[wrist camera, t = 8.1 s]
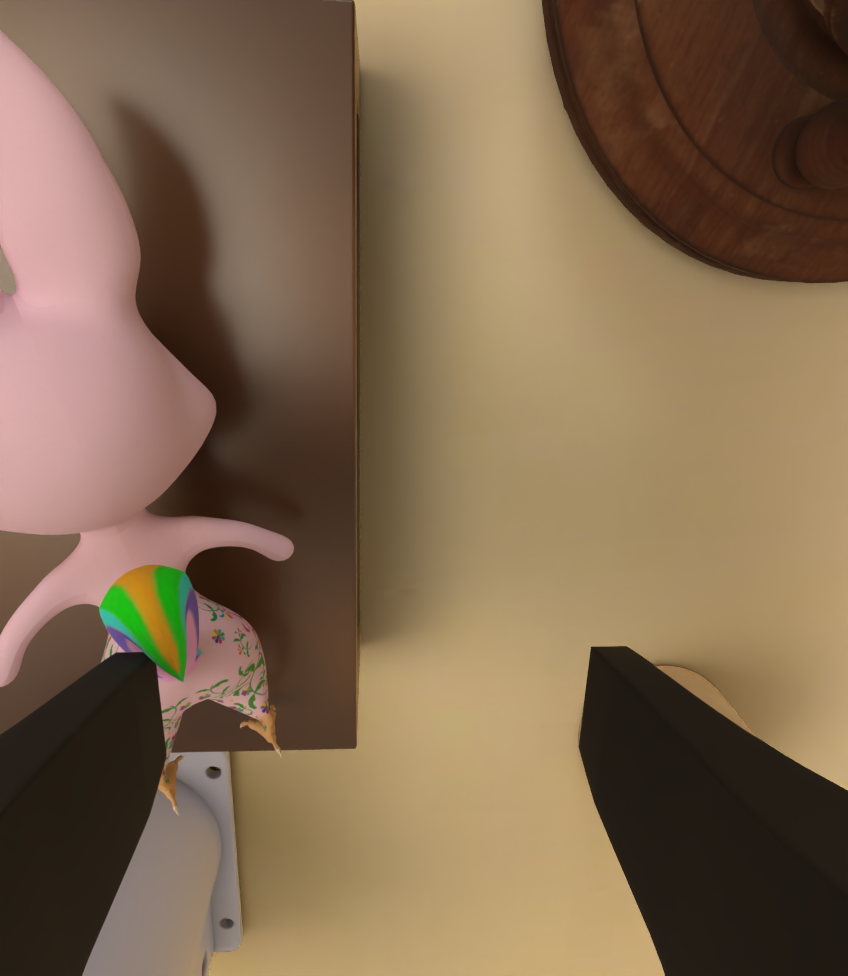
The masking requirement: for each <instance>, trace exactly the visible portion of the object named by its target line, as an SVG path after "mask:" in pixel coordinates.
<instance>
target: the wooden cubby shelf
mask: <svg viewBox="0 0 848 976" xmlns="http://www.w3.org/2000/svg"><path fill="white" fill-rule="evenodd" d="M0 30H1V31H2V32H3V33H4V34H5V35H6V36H7V37H8V38H9V39H10V40H11V41H12V42H13V43H14V44H16V45H17V46H18V47H19V48H20V49H21V50H22V51H23V52H24V53H25V54H26V55H27V56H28V57H29V58H30V59H31V60H32V61H33V62H34V63H35V64H36V65H37V66H38V67H39V68H40V69H41V70H42V71H43V72H44V74H45V75H46V76H47V77H48V78H49V79H50V80H51V81H52V83H53V84H54V85H55V86H56V87H57V88H58V89H59V91H60V92H61V93H62V94H63V96H64V97H65V98H66V99H67V101H68V102H69V103H70V105H71V106H72V107H73V109H74V110H75V112H76V113H77V114H78V116H79V117H80V119H81V120H82V122H83V123H84V125H85V126H86V128H87V130H88V131H89V133H90V134H91V136H92V138H93V140H94V141H95V143H96V145H97V147H98V149H99V151H100V153H101V154H102V156H103V158H104V160H105V162H106V164H107V165H108V167H109V169H110V171H111V173H112V174H113V176H114V178H115V180H116V182H117V184H118V186H119V188H120V190H121V192H122V194H123V196H124V198H125V201H126V203H127V206H128V208H129V211H130V214H131V216H132V219H133V222H134V225H135V229H136V232H137V236H138V240H139V245H140V255H141V260H140V270H139V275H138V280H137V285H136V294H135V300H136V305H137V309H138V312H139V314H140V316H141V318H142V320H143V322H144V323H145V325H146V326H147V328H148V329H149V330H150V332H151V333H152V334H153V335H154V336H155V337H156V338H157V339H158V340H159V341H160V343H161V344H162V345H163V346H164V347H165V348H166V349H167V350H168V351H169V352H170V353H171V354H172V355H173V356H174V357H175V358H176V359H177V360H178V361H179V362H180V363H181V364H182V365H183V366H184V367H185V368H186V369H187V370H188V371H189V372H190V373H191V374H192V375H194V376H195V377H196V378H197V379H198V380H199V381H200V382H201V383H202V384H203V385H204V386H205V387H206V388H207V389H208V390H209V391H210V392H211V393H212V395H213V397H214V399H215V401H216V416H215V419H214V422H213V425H212V427H211V429H210V431H209V433H208V435H207V437H206V439H205V441H204V442H203V444H202V446H201V447H200V449H199V450H198V452H197V453H196V455H195V456H194V457H193V459H192V460H191V462H190V463H189V464H188V465H187V467H186V468H185V469H184V470H183V472H182V473H181V474H180V475H179V476H178V478H177V479H176V480H175V481H174V482H173V483H172V484H171V485H170V487H169V488H168V489H167V490H166V491H165V492H164V493H163V494H162V495H161V496H159V497H158V498H157V499H156V500H155V501H153V502H152V503H151V504H149V505H148V506H147V507H145V509H146V510H147V511H148V512H149V513H151V514H154V515H158V516H167V517H181V516H201V517H210V518H220V519H229V520H235V521H240V522H245V523H249V524H252V525H255V526H258V527H261V528H264V529H266V530H269V531H272V532H275V533H278V534H280V535H283V536H285V537H286V538H288V539H289V540H291V542H292V544H293V545H294V551H293V553H292V555H291V556H290V557H289V558H288V559H286V560H284V561H275V560H272V559H269V558H268V557H266V556H264V555H262V554H261V553H259V552H257V551H255V550H252V549H249V548H244V547H236V546H223V547H215V548H210V549H206V550H203V551H201V552H200V553H198V554H197V555H195V556H194V557H193V558H192V559H191V560H190V562H189V563H188V565H187V568H186V571H185V573H186V575H187V576H188V577H189V580H190V582H191V584H192V587H193V589H194V590H195V591H196V592H198V593H199V594H201V595H202V596H204V597H206V598H207V599H209V600H211V601H213V602H215V603H217V604H220V605H222V606H224V607H226V608H228V609H230V610H232V611H234V612H235V613H237V614H238V615H240V616H241V617H242V618H244V619H245V620H246V621H247V622H248V623H249V624H250V625H251V626H252V627H253V629H254V630H255V632H256V634H257V636H258V638H259V641H260V644H261V647H262V650H263V654H264V658H265V664H266V673H267V684H268V707H269V710H270V706H271V705H274V706H275V709H276V710H274V712H276V718H275V735H276V743H277V745H278V746H279V747H280V750H320V749H355V748H356V746H357V723H358V694H359V666H360V117H359V116H360V62H359V50H358V37H357V24H356V11H355V3H354V1H353V0H0ZM0 289H1V290H2V291H3V292H4V293H6V294H9V295H12V294H13V293H15V291H16V282H15V278H14V275H13V273H12V270H11V268H10V266H9V264H8V261H7V259H6V257H5V255H4V253H3V250H2V248H1V246H0ZM80 539H81V535H80V533H75V534H65V535H39V534H27V533H17V532H9V531H1V530H0V635H1V633H2V631H3V629H4V628H5V626H6V624H7V623H8V621H9V620H10V618H11V617H12V615H13V614H14V613H15V611H16V610H17V609H18V608H19V606H20V605H21V604H22V603H23V602H24V600H25V599H26V598H27V597H28V596H29V595H30V594H31V592H32V591H33V590H34V589H35V588H36V587H37V586H38V584H39V583H40V582H41V581H42V580H43V579H44V578H45V577H46V576H47V575H48V574H49V573H50V572H51V571H52V570H53V569H55V568H56V567H57V566H58V565H59V564H61V563H62V562H63V561H64V560H65V559H66V558H67V557H68V556H69V555H70V554H71V553H72V552H73V551H74V550H75V548H76V547H77V546H78V544H79V542H80ZM108 633H109V632H108V631H107V629H106V627H105V625H104V623H103V620H102V618H101V616H100V612H99V607H98V606H95V605H92V604H79V605H74V606H71V607H69V608H66V609H64V610H63V611H61V612H60V613H58V614H57V615H55V616H54V617H53V618H52V619H50V620H49V621H48V622H47V623H46V624H45V625H44V626H43V627H42V628H41V629H40V630H39V631H38V632H37V633H36V634H35V636H34V637H33V638H32V640H31V641H30V643H29V644H28V646H27V648H26V650H25V653H24V656H23V659H22V663H21V666H20V669H19V672H18V674H17V676H16V677H15V678H14V680H13V681H11V682H10V683H9V684H8V685H5V686H3V687H0V735H1V734H2V733H4V732H5V731H7V730H8V729H10V728H11V727H13V726H14V725H15V724H17V723H18V722H20V721H21V720H22V719H24V718H25V717H27V716H28V715H29V714H31V713H32V712H34V711H35V710H36V709H38V708H39V707H40V706H42V705H43V704H45V703H46V702H47V701H49V700H50V699H52V698H53V697H54V696H56V695H57V694H58V693H60V692H61V691H63V690H64V689H65V688H67V687H68V686H69V685H71V684H72V683H73V682H75V681H76V680H77V679H79V678H80V677H82V676H83V675H84V674H86V673H87V672H88V671H90V670H91V669H93V668H94V667H95V666H97V665H98V664H100V663H101V660H102V657H103V654H104V650H105V647H106V643H107V639H108ZM251 718H252V717H250V716H248V715H246V714H244V713H241V712H239V711H237V710H234V709H232V708H229V707H227V706H224V705H222V704H219V703H217V702H215V701H213V700H210V699H206V700H204V701H201V702H198V703H196V704H194V705H192V706H191V707H189V708H188V709H186V710H185V711H183V714H182V718H181V722H180V725H179V728H178V731H177V734H176V737H175V740H174V743H173V747H172V750H171V753H185V752H230V751H275V749H274V746H273V744H272V743H270V742H267V740H266V739H265V738H264V737H263V736H262V735H261V734H259V733H258V732H257V731H256V730H253V729H251V728H250V727H249V726H248V725H245V726H244V727H241V728H240V724H241V722H244V721H248V720H250V719H251Z"/></svg>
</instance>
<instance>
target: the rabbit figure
mask: <svg viewBox="0 0 848 976" xmlns="http://www.w3.org/2000/svg"><path fill="white" fill-rule="evenodd" d="M0 246H1V248H2V250H3V253H4V255H5V257H6V259H7V261H8V264H9V266H10V268H11V270H12V273H13V275H14V278H15V282H16V291H15V293H13V294H12V295H9V294H6V293H4V292H3V291H2V290H1V289H0V530H1V531H9V532H17V533H27V534H39V535H65V534H75V533H80V535H81V539H80V542H79V544H78V546H77V547H76V548H75V550H74V551H73V552H72V553H71V554H70V555H69V556H68V557H67V558H66V559H65V560H64V561H63V562H62V563H61V564H59V565H58V566H57V567H56V568H55V569H53V570H52V571H51V572H50V573H49V574H48V575H47V576H46V577H45V578H44V579H43V580H42V581H41V582H40V583H39V584H38V586H37V587H36V588H35V589H34V590H33V591H32V592H31V594H30V595H29V596H28V597H27V598H26V599H25V600H24V602H23V603H22V604H21V605H20V606H19V608H18V609H17V610H16V611H15V613H14V614H13V615H12V617H11V618H10V620H9V621H8V623H7V624H6V626H5V628H4V629H3V631H2V633H1V635H0V687H3V686H5V685H8V684H9V683H10V682H11V681H13V680H14V678H15V677H16V676H17V674H18V672H19V669H20V666H21V663H22V659H23V656H24V653H25V650H26V648H27V646H28V644H29V643H30V641H31V640H32V638H33V637H34V636H35V634H36V633H37V632H38V631H39V630H40V629H41V628H42V627H43V626H44V625H45V624H46V623H47V622H48V621H49V620H50V619H52V618H53V617H54V616H55V615H57V614H58V613H60V612H61V611H63V610H64V609H66V608H69V607H71V606H74V605H79V604H92V605H95V606H98V607H99V612H100V616H101V618H102V620H103V623H104V625H105V627H106V629H107V631H108V632H109V633H108V639H107V643H106V647H105V650H104V654H103V657H102V660H101V662H102V661H104V660H105V659H107V658H108V657H110V656H111V655H113V654H115V653H116V652H144V653H145V654H146V655H147V656H148V657H149V658H150V659H151V660H152V661H153V662H155V663H156V665H157V674H158V683H159V692H160V701H161V709H162V718H163V727H164V736H165V745H166V754H167V756H166V760H165V764H164V768H163V771H162V775H161V779H160V782H159V786H158V789H159V790H160V791H161V792H163V793H164V794H165V795H166V798H168V799H169V800H170V801H171V803H172V807H173V810H174V811H175V812H176V813H177V815H179V812H178V805H177V802H176V800H175V795H176V793H177V792H176V773H177V770H178V762H179V761H180V760H182V759H183V758H185V757H184V756H182V755H180V756H178V757H177V758H176V759H175V760H174V761H171V762H169V764H168V761H169V757H170V753H171V750H172V747H173V743H174V740H175V737H176V734H177V731H178V728H179V725H180V722H181V718H182V714H183V711H185V710H186V709H188V708H189V707H191V706H192V705H194V704H196V703H198V702H201V701H204V700H206V699H210V700H213V701H215V702H217V703H219V704H222V705H224V706H227V707H229V708H232V709H234V710H237V711H239V712H241V713H244V714H246V715H248V716H250V717H252V718H251V719H250V720H248V721H244V722H241V724H240V728H241V727H244V726H245V725H248V726H249V727H250V728H251V729H253V730H256V731H257V732H258V733H259V734H261V735H262V736H263V737H264V738H265V739H266V740H267V742H270V743H272V744H273V746H274V749H275V751H276V752H277V753H278V754H279V755H280V757H281V750H280V747H279V746H278V745H277V743H276V735H275V718H276V712H274V710H276V709H275V706H274V705H271V706H270V710H269V707H268V684H267V673H266V664H265V658H264V654H263V650H262V647H261V644H260V641H259V638H258V636H257V634H256V632H255V630H254V629H253V627H252V626H251V625H250V624H249V623H248V622H247V621H246V620H245V619H244V618H242V617H241V616H240V615H238V614H237V613H235V612H234V611H232V610H230V609H228V608H226V607H224V606H222V605H220V604H217V603H215V602H213V601H211V600H209V599H207V598H206V597H204V596H202V595H201V594H199V593H198V592H196V591H195V590H194V589H193V587H192V584H191V582H190V580H189V577H188V576H187V575H186V573H185V571H186V568H187V565H188V563H189V562H190V560H191V559H192V558H193V557H194V556H195V555H197V554H198V553H200V552H201V551H203V550H206V549H210V548H215V547H223V546H236V547H244V548H249V549H252V550H255V551H257V552H259V553H261V554H262V555H264V556H266V557H268V558H269V559H272V560H275V561H284V560H286V559H288V558H289V557H290V556H291V555H292V553H293V551H294V545H293V544H292V542H291V540H289V539H288V538H286V537H285V536H283V535H280V534H278V533H275V532H272V531H269V530H266V529H264V528H261V527H258V526H255V525H252V524H249V523H245V522H240V521H235V520H229V519H220V518H210V517H201V516H181V517H167V516H158V515H154V514H151V513H149V512H148V511H147V510H146V509H145V507H147V506H148V505H149V504H151V503H152V502H153V501H155V500H156V499H157V498H158V497H159V496H161V495H162V494H163V493H164V492H165V491H166V490H167V489H168V488H169V487H170V485H171V484H172V483H173V482H174V481H175V480H176V479H177V478H178V476H179V475H180V474H181V473H182V472H183V470H184V469H185V468H186V467H187V465H188V464H189V463H190V462H191V460H192V459H193V457H194V456H195V455H196V453H197V452H198V450H199V449H200V447H201V446H202V444H203V442H204V441H205V439H206V437H207V435H208V433H209V431H210V429H211V427H212V425H213V422H214V419H215V416H216V401H215V399H214V397H213V395H212V393H211V392H210V391H209V390H208V389H207V388H206V387H205V386H204V385H203V384H202V383H201V382H200V381H199V380H198V379H197V378H196V377H195V376H194V375H192V374H191V373H190V372H189V371H188V370H187V369H186V368H185V367H184V366H183V365H182V364H181V363H180V362H179V361H178V360H177V359H176V358H175V357H174V356H173V355H172V354H171V353H170V352H169V351H168V350H167V349H166V348H165V347H164V346H163V345H162V344H161V343H160V341H159V340H158V339H157V338H156V337H155V336H154V335H153V334H152V333H151V332H150V330H149V329H148V328H147V326H146V325H145V323H144V322H143V320H142V318H141V316H140V314H139V312H138V309H137V305H136V300H135V294H136V285H137V280H138V275H139V270H140V260H141V255H140V245H139V240H138V236H137V232H136V229H135V225H134V222H133V219H132V216H131V214H130V211H129V208H128V206H127V203H126V201H125V198H124V196H123V194H122V192H121V190H120V188H119V186H118V184H117V182H116V180H115V178H114V176H113V174H112V173H111V171H110V169H109V167H108V165H107V164H106V162H105V160H104V158H103V156H102V154H101V153H100V151H99V149H98V147H97V145H96V143H95V141H94V140H93V138H92V136H91V134H90V133H89V131H88V130H87V128H86V126H85V125H84V123H83V122H82V120H81V119H80V117H79V116H78V114H77V113H76V112H75V110H74V109H73V107H72V106H71V105H70V103H69V102H68V101H67V99H66V98H65V97H64V96H63V94H62V93H61V92H60V91H59V89H58V88H57V87H56V86H55V85H54V84H53V83H52V81H51V80H50V79H49V78H48V77H47V76H46V75H45V74H44V72H43V71H42V70H41V69H40V68H39V67H38V66H37V65H36V64H35V63H34V62H33V61H32V60H31V59H30V58H29V57H28V56H27V55H26V54H25V53H24V52H23V51H22V50H21V49H20V48H19V47H18V46H17V45H16V44H14V43H13V42H12V41H11V40H10V39H9V38H8V37H7V36H6V35H5V34H4V33H3V32H2V31H1V30H0Z"/></svg>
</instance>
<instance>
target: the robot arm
mask: <svg viewBox="0 0 848 976" xmlns="http://www.w3.org/2000/svg"><path fill="white" fill-rule="evenodd" d="M579 749H580V753H581V757H582V761H583V764H584V768H585V772H586V776H587V779H588V783H589V786H590V789H591V793H592V796H593V800H594V803H595V805H596V808H597V810H598V813H599V815H600V818H601V820H602V822H603V825H604V827H605V830H606V832H607V834H608V837H609V839H610V841H611V844H612V846H613V849H614V851H615V853H616V856H617V858H618V860H619V863H620V865H621V867H622V870H623V872H624V874H625V877H626V879H627V881H628V884H629V886H630V888H631V891H632V893H633V895H634V898H635V900H636V902H637V905H638V907H639V909H640V912H641V914H642V916H643V919H644V921H645V923H646V926H647V928H648V930H649V933H650V935H651V938H652V941H653V943H654V946H655V948H656V951H657V954H658V956H659V959H660V961H661V964H662V967H663V970H664V973H665V976H848V791H847V790H846V789H844V788H842V787H840V786H838V785H837V784H835V783H833V782H831V781H829V780H827V779H826V778H824V777H822V776H820V775H818V774H816V773H815V772H813V771H811V770H809V769H807V768H806V767H804V766H802V765H800V764H799V763H797V762H795V761H794V760H792V759H790V758H789V757H787V756H785V755H784V754H782V753H780V752H779V751H777V750H776V749H774V748H773V747H771V746H769V745H768V744H766V743H765V742H763V741H762V740H760V739H758V738H757V737H755V736H754V735H752V734H751V733H749V732H747V731H746V730H744V729H743V728H741V727H740V726H738V725H737V724H735V723H734V722H733V721H731V720H730V719H728V718H727V717H725V716H724V715H722V714H721V713H719V712H718V711H717V710H715V709H714V708H712V707H711V706H709V705H708V704H707V703H705V702H704V701H702V700H701V699H700V698H698V697H697V696H696V695H694V694H693V693H691V692H690V691H689V690H687V689H686V688H684V687H683V686H682V685H680V684H679V683H678V682H676V681H675V680H674V679H672V678H671V677H670V676H668V675H667V674H665V673H664V672H663V671H661V670H660V669H659V668H657V667H656V666H654V665H653V664H652V663H650V662H649V661H648V660H646V659H645V658H643V657H642V656H640V655H639V654H638V653H636V652H635V651H633V650H631V649H630V648H628V647H627V646H614V647H591V652H590V660H589V668H588V676H587V684H586V692H585V700H584V708H583V716H582V724H581V732H580V740H579ZM180 755H182V756H184V757H185V758H183V759H182V760H180V761H179V762H178V770H177V773H176V792H177V793H176V795H175V800H176V802H177V805H178V812H179V815H177V813H176V812H175V811H174V810H173V807H172V803H171V801H170V800H169V799H168V798H166V795H165V794H164V793H163V792H161V791H160V790H159V789H158V786H159V782H160V779H161V775H162V771H163V768H164V764H165V760H166V756H167V754H166V745H165V736H164V727H163V718H162V709H161V701H160V692H159V683H158V674H157V665H156V663H155V662H153V661H152V660H151V659H150V658H149V657H148V656H147V655H146V654H145V653H144V652H116V653H115V654H113V655H111V656H110V657H108V658H107V659H105V660H104V661H102V662H101V663H100V664H98V665H97V666H95V667H94V668H93V669H91V670H90V671H88V672H87V673H86V674H84V675H83V676H82V677H80V678H79V679H77V680H76V681H75V682H73V683H72V684H71V685H69V686H68V687H67V688H65V689H64V690H63V691H61V692H60V693H58V694H57V695H56V696H54V697H53V698H52V699H50V700H49V701H47V702H46V703H45V704H43V705H42V706H40V707H39V708H38V709H36V710H35V711H34V712H32V713H31V714H29V715H28V716H27V717H25V718H24V719H22V720H21V721H20V722H18V723H17V724H15V725H14V726H13V727H11V728H10V729H8V730H7V731H5V732H4V733H2V734H1V735H0V976H208V974H209V970H210V965H211V961H212V957H213V952H229V951H234V950H236V949H237V948H239V947H240V945H241V942H242V937H243V926H242V913H241V900H240V887H239V874H238V861H237V848H236V834H235V821H234V808H233V795H232V782H231V769H230V756H229V752H185V753H170V757H169V761H168V764H169V762H171V761H174V760H175V759H176V758H177V757H178V756H180ZM212 766H214V767H217V768H219V769H220V770H218V771H215V770H212V769H210V768H209V767H212ZM225 918H228V919H225Z"/></svg>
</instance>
